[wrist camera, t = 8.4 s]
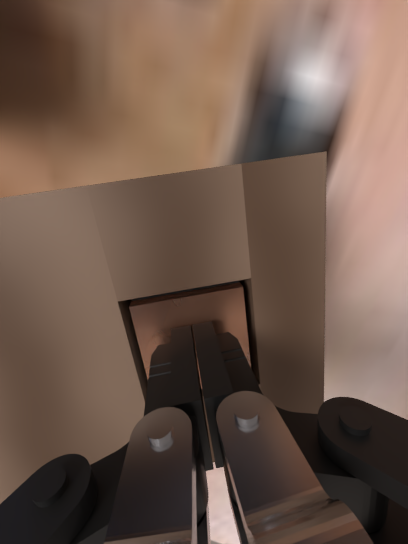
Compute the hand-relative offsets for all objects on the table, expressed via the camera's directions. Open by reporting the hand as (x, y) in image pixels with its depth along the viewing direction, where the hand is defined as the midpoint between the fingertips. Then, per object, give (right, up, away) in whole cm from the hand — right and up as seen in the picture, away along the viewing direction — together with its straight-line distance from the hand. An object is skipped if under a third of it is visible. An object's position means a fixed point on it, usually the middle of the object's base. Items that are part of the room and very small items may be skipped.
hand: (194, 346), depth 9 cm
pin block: (-7, +1, +7) cm, 10 cm away
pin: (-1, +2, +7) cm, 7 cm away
